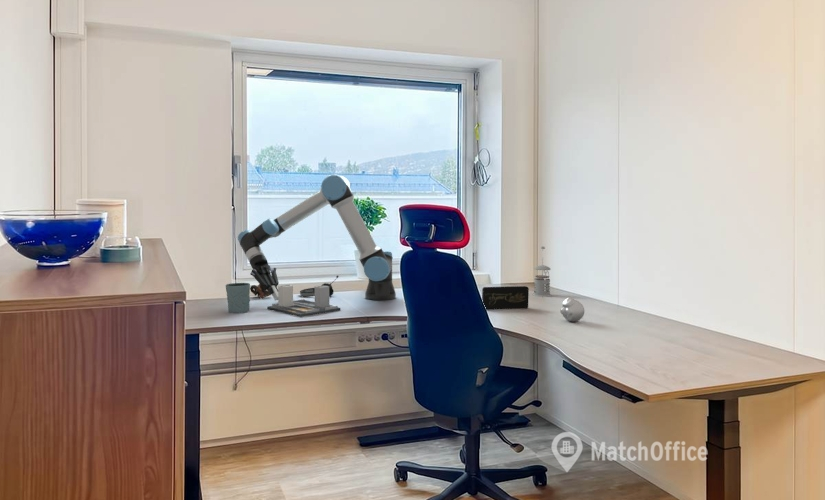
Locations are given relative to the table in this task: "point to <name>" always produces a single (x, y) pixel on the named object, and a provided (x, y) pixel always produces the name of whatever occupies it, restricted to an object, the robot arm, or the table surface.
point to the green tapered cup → (238, 297)
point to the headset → (311, 291)
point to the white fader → (285, 295)
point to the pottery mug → (259, 291)
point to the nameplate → (505, 297)
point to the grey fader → (322, 296)
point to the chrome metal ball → (572, 309)
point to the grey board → (302, 308)
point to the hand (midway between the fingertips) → (277, 298)
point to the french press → (542, 282)
